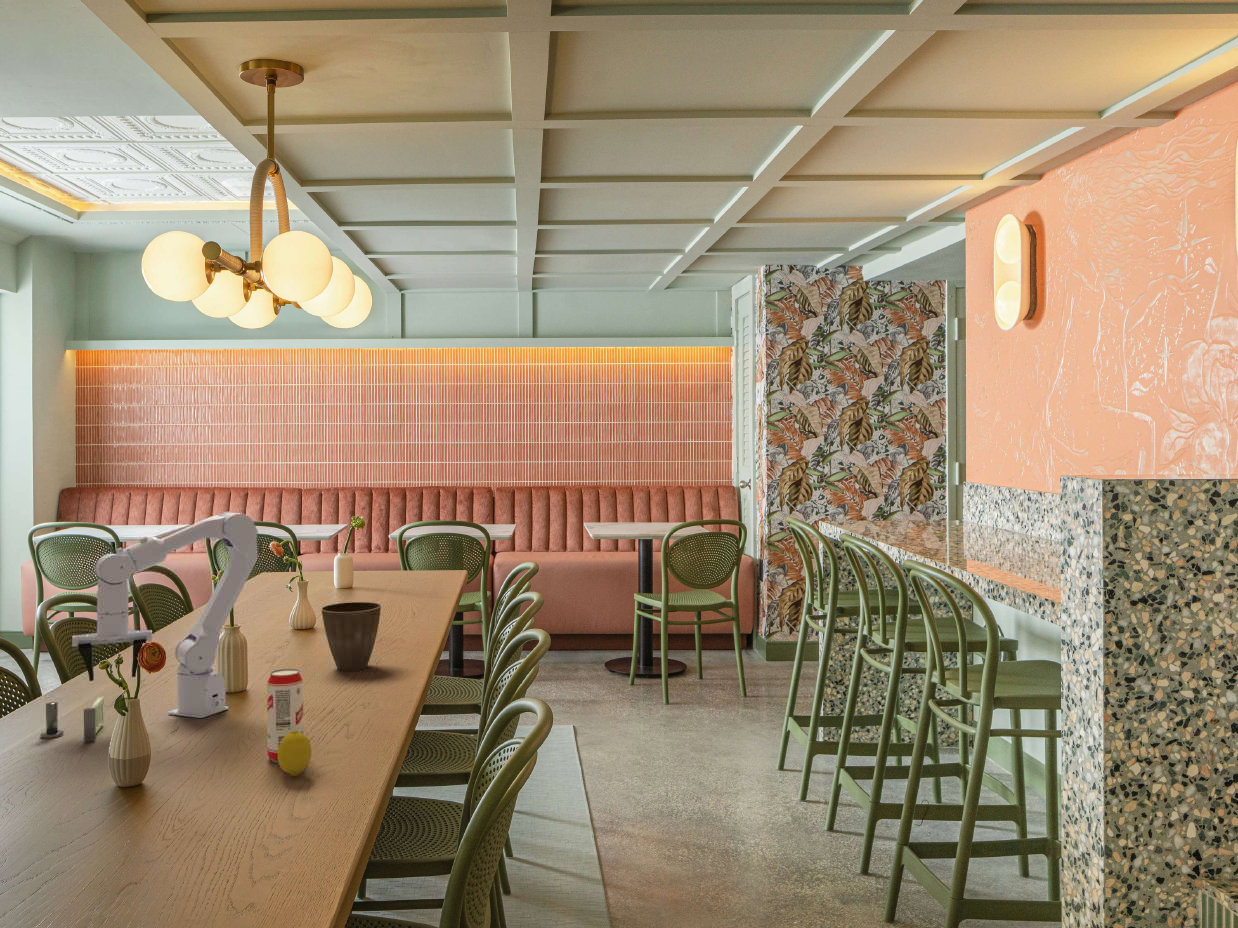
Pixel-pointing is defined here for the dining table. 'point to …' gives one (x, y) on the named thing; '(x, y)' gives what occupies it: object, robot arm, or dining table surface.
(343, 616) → the plant pot
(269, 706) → the beer can
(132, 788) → the dining table surface
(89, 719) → the gate
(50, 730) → the post
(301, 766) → the lemon
